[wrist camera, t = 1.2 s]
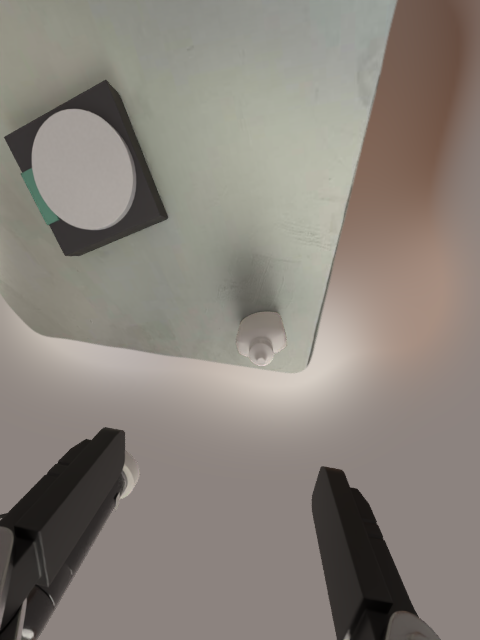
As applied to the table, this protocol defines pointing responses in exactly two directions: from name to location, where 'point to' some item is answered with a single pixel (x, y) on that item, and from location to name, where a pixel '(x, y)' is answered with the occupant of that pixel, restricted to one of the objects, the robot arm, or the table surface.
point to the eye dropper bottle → (261, 337)
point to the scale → (87, 171)
